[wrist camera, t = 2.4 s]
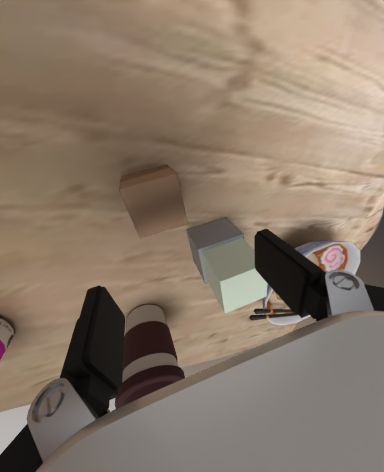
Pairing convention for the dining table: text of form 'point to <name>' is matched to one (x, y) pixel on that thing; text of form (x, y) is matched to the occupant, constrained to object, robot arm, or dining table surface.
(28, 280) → the dining table surface
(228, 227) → the tower base
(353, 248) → the ramen bowl
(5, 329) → the supplement can
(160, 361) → the coffee cup
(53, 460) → the robot arm
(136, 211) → the walnut cube
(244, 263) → the tower mid
